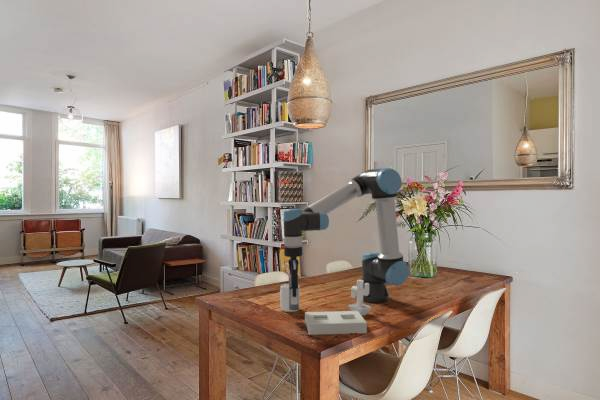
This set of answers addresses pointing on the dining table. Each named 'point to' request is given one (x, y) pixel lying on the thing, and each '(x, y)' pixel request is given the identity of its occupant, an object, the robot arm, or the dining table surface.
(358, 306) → the figurine
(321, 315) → the bore block
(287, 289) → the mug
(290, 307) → the steel pin
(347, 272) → the dining table surface
